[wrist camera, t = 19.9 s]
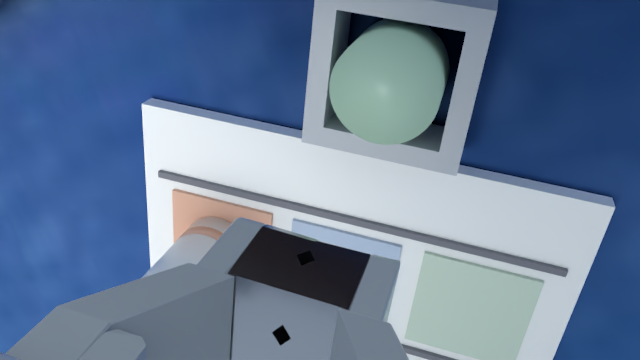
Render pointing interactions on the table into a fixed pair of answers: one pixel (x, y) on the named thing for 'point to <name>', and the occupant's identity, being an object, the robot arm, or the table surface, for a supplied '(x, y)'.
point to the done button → (390, 82)
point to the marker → (191, 244)
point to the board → (390, 227)
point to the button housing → (448, 142)
